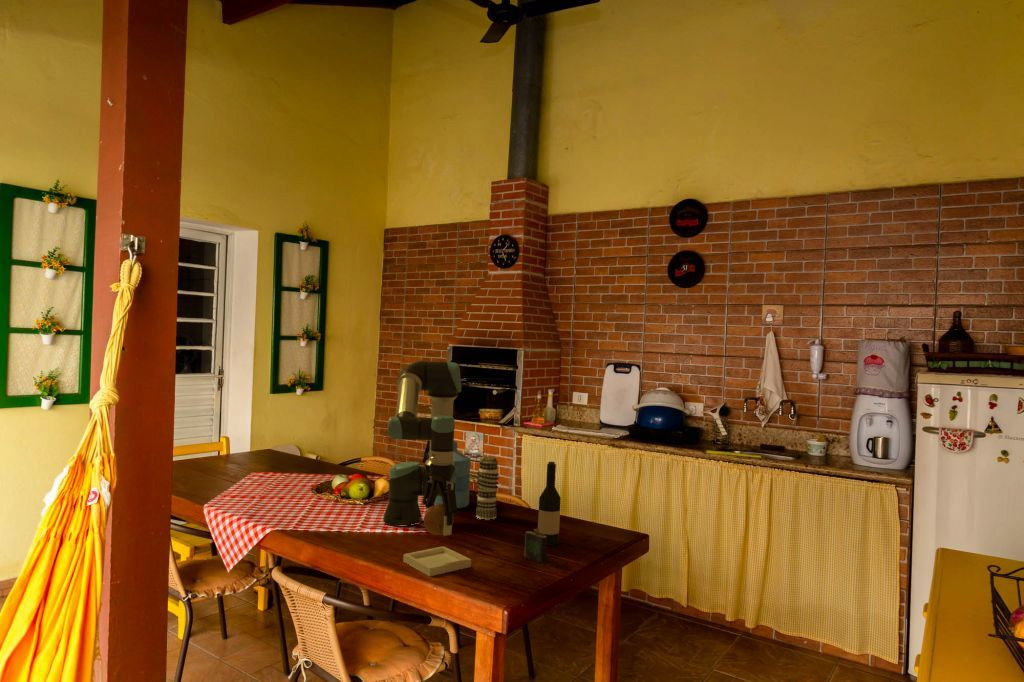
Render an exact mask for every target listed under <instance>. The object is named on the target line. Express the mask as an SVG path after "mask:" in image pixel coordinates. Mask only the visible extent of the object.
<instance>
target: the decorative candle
mask: <svg viewBox="0 0 1024 682" xmlns="http://www.w3.org/2000/svg"><path fill="white" fill-rule="evenodd" d="M478 461H479V468H478V471H477V473H476V475H477V478H476V479H477V481H476V484H477V485H476V487H477V488H476V489H477V490H478V491H477V493H478V495H477V500H476V512H475V515H476V516H475V517H477V518H476V519H478V518H479V519H478V520H481V519H485V520H484V521H491V520H490V519H493V520H495V518H496V519H497V514H498V513H497V511H498V509H497V506H498V504H497V503H498V500H497V491H498V488H499V486H498V485H499V482H498V480H500V478H499V477H498V476H500V474H499V472H498V471H499V470H498V469H499V468H498V463H499V461H498V460H497V458H496V457H494V456H489V455H488V456H482V457H481V458H480V459H479V460H478Z"/></svg>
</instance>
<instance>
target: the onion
mask: <svg viewBox="0 0 1024 682" xmlns="http://www.w3.org/2000/svg"><path fill="white" fill-rule="evenodd" d="M444 514H446V513H445V509H444V505H443V504H436V505H435V504H434V505H433V506H431V507H430V508H429V509H428V510H427V511H425V514H424V516H423V523H424V527H425V529H426V531H427V532H429V533H430V534H431V535H433V536H442V535H443V527H444ZM454 519H455V518H454V516H453V520H452V526H453V524H454ZM443 536H444V535H443Z"/></svg>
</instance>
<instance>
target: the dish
mask: <svg viewBox="0 0 1024 682" xmlns="http://www.w3.org/2000/svg"><path fill="white" fill-rule="evenodd" d="M402 558H403V559H402V560H403V561H402V562H403V563H405V564H406V563H407V564H406V565H408V564H409V566H410V567H412V568H414V569H416V570H417V571H419V572H421V573H422V574H424V575H427V576H428V577H432V576H433V577H434V576H437V575H441V574H446V572H447V573H450V572H455V571H459V569H460V570H463V569H467V568H472V559H471V558H469V557H467V556H465V555H463V554H460V553H459V552H457V551H455V550H452V549H450V548H448V547H446V546H444V545H443V546H438V547H433V548H429V549H428V548H427V549H423V550H418V551H413V552H409V553H404V554H403V557H402Z"/></svg>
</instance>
